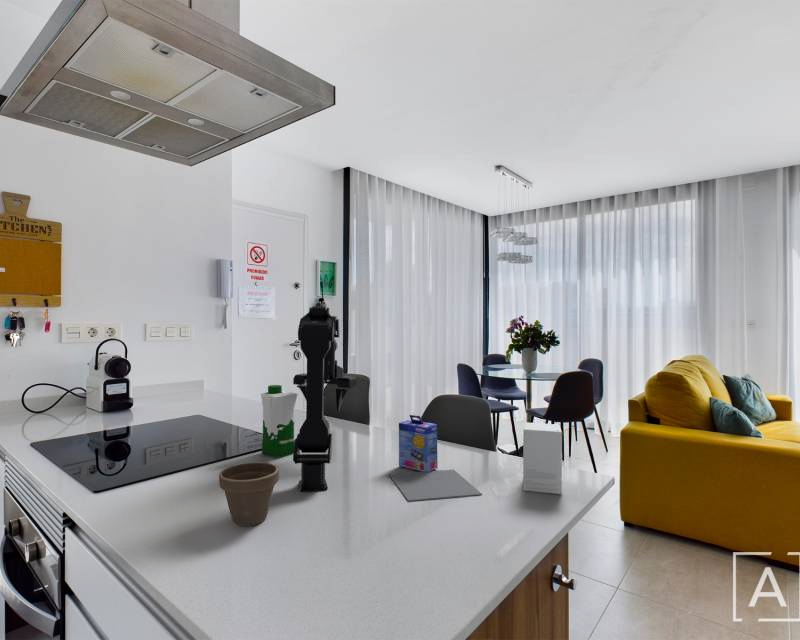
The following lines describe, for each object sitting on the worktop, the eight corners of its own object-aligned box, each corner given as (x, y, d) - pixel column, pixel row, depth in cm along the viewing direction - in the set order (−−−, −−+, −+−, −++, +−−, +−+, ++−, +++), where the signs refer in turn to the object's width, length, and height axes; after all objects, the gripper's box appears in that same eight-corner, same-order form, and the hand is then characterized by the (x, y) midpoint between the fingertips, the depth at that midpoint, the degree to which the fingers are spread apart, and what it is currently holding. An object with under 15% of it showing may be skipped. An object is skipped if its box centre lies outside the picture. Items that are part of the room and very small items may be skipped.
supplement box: (559, 482, 119) (560, 423, 118) (562, 495, 110) (563, 431, 110) (522, 478, 121) (523, 421, 121) (522, 490, 112) (523, 428, 112)
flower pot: (215, 536, 87) (216, 482, 87) (220, 511, 98) (221, 463, 98) (279, 529, 90) (279, 477, 90) (277, 506, 101) (278, 459, 101)
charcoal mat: (481, 495, 109) (481, 493, 109) (408, 501, 104) (408, 500, 104) (453, 470, 126) (453, 469, 126) (389, 475, 122) (389, 474, 122)
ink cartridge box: (397, 466, 129) (397, 413, 129) (409, 462, 133) (409, 411, 134) (426, 473, 123) (427, 418, 123) (438, 468, 127) (438, 415, 128)
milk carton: (280, 447, 146) (281, 383, 146) (300, 452, 141) (300, 386, 140) (257, 453, 139) (257, 386, 139) (276, 459, 134) (277, 390, 133)
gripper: (364, 356, 144) (364, 407, 144) (311, 354, 150) (310, 402, 150) (349, 359, 133) (348, 413, 133) (292, 356, 139) (291, 408, 139)
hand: (324, 409), depth 139 cm, fingers open, 9 cm apart
